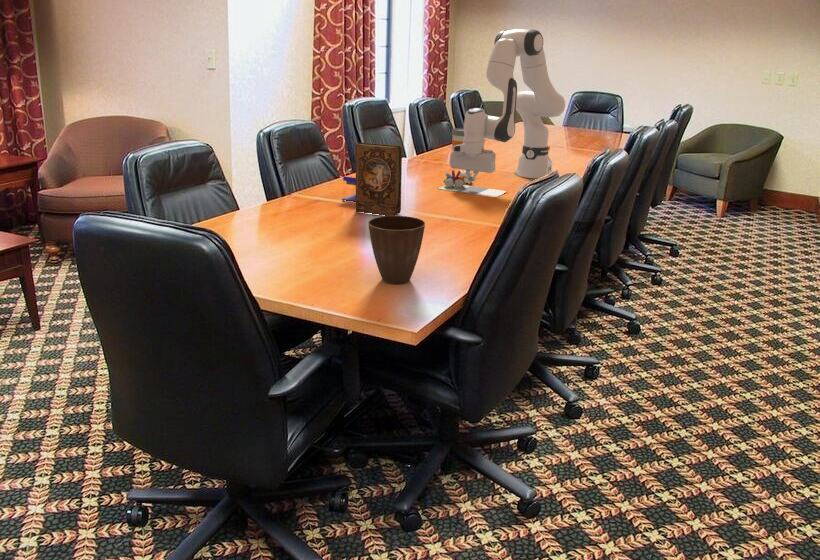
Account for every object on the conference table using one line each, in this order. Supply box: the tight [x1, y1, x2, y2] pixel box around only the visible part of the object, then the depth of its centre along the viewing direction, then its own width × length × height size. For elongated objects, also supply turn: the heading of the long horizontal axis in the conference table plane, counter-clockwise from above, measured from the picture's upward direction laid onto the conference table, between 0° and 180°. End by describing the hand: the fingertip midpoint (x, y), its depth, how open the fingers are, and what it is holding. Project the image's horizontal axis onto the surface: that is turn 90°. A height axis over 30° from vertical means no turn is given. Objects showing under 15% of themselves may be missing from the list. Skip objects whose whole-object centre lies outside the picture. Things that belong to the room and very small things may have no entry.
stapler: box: [341, 176, 356, 202], centre depth 280 cm, size 12×28×10 cm, turn 155°
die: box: [458, 169, 473, 185], centre depth 311 cm, size 5×5×5 cm
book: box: [355, 142, 403, 216], centre depth 251 cm, size 16×6×25 cm, turn 71°
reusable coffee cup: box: [451, 127, 464, 147], centre depth 372 cm, size 13×13×15 cm
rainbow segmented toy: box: [443, 169, 467, 188], centre depth 301 cm, size 8×10×7 cm
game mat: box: [437, 184, 507, 198], centre depth 297 cm, size 14×27×1 cm, turn 59°
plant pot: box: [367, 215, 426, 285], centre depth 185 cm, size 15×15×16 cm
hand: (471, 180), depth 296 cm, fingers closed
